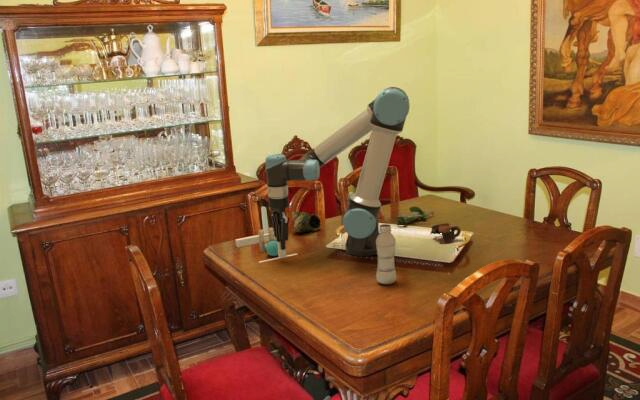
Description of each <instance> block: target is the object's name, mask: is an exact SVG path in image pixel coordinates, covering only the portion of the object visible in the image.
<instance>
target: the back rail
mask: <svg viewBox="0 0 640 400" xmlns="http://www.w3.org/2000/svg"><path fill="white" fill-rule="evenodd" d="M273 233H274V231H273ZM264 241H265V243H266V242H269V233H268V232H265V233H264ZM274 241H277V239H276V237H275V236H274ZM234 242H235V247H236V248H243V247H246V246H251V245H252V246H253V245H257V244H260V242H259V234H257V235H251V236H246V237H242V238H235V241H234Z"/></svg>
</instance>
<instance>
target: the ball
mask: <svg viewBox="0 0 640 400" xmlns="http://www.w3.org/2000/svg"><path fill="white" fill-rule="evenodd" d="M266 245H267V246H266V250H265V252H266V253H267V254H268V255H269V256H271V257H276V256H277V257H278V243H277V240H274V241H271V242H269V241H268V243H266Z"/></svg>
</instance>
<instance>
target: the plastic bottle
mask: <svg viewBox="0 0 640 400" xmlns="http://www.w3.org/2000/svg"><path fill="white" fill-rule="evenodd" d="M379 233H380V234H379V235H378V237H377V238H376V247H377V254H376V255H377V266H376V267H377V269H376V275H375V277H376V281H377V283H379V284H380V285H392V284H393V283H395V281H396V278H397V272H396V267H395V250H396V244H397V243H396V237H395V236H394V234H393V233H392V226H391V224H389V223H388V224H387V223H384V224H380V225H379Z"/></svg>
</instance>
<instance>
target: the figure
mask: <svg viewBox="0 0 640 400" xmlns="http://www.w3.org/2000/svg"><path fill="white" fill-rule="evenodd" d="M409 211H410V212H411V213H410V214H409V215H406V214H404V213H403V212H399V213H398V217H397V218H396V220H395V222H396V226H398V225H405V226H406V225H407V223H412V222H413V221H415V220H416V219H417V220H418V219H420V221H426V220H428V219H427V218H428V217H430V215H432V216H434V214H435V213H434V212H435V211H434V210H431V211H429V212H427V213H426V210H425V209H424V210H422V209H421V207H418V206H410V207H409Z"/></svg>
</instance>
